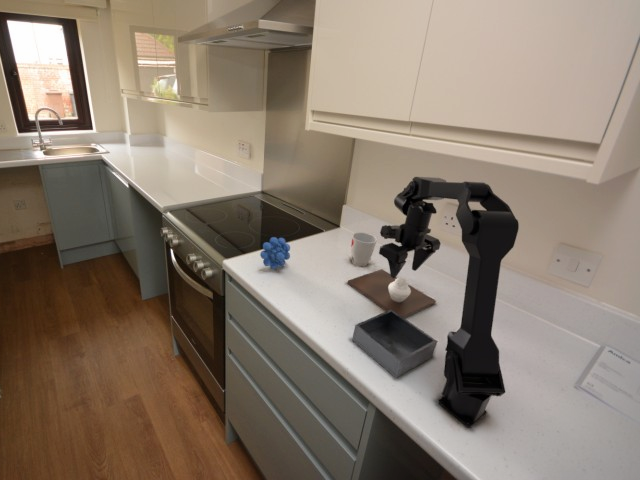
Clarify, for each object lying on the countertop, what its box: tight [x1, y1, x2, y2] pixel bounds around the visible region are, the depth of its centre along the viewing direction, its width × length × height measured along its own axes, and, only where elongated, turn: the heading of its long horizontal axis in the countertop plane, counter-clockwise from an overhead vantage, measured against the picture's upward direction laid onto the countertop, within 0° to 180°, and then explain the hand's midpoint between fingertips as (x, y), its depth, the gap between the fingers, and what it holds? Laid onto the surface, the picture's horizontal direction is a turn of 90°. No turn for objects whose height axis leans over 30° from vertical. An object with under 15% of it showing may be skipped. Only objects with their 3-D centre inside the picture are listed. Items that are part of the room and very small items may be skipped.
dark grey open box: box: [351, 310, 438, 379], centre depth 82 cm, size 13×13×5 cm
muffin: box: [388, 277, 411, 302], centre depth 98 cm, size 6×6×7 cm
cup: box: [350, 232, 378, 267], centre depth 119 cm, size 8×8×10 cm
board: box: [347, 268, 437, 319], centre depth 104 cm, size 20×16×1 cm
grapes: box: [259, 236, 291, 270], centre depth 111 cm, size 12×7×12 cm, turn 120°
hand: (403, 273), depth 96 cm, fingers open, 9 cm apart
